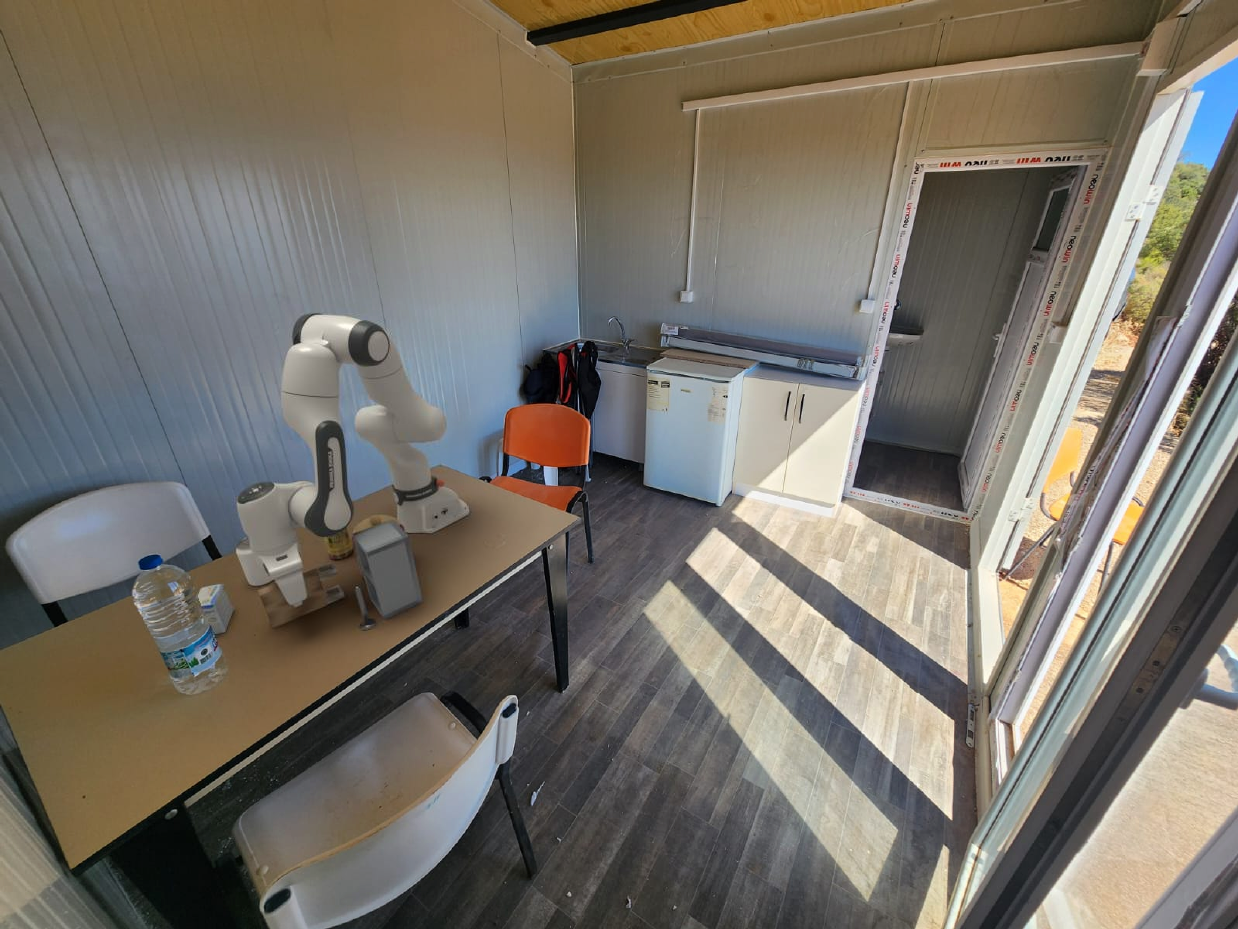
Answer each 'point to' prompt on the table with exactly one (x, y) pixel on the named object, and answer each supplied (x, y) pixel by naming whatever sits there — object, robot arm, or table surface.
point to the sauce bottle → (339, 545)
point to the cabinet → (388, 568)
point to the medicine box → (216, 606)
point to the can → (251, 564)
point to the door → (316, 599)
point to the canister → (372, 522)
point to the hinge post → (364, 612)
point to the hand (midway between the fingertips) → (294, 597)
